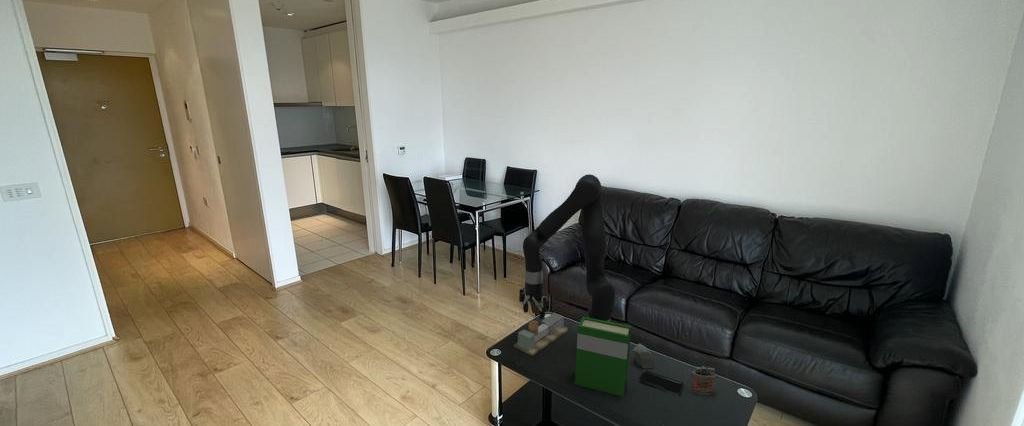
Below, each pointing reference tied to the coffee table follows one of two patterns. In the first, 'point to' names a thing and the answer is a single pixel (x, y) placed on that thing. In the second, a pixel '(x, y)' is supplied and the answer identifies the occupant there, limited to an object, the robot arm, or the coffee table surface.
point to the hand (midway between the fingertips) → (533, 315)
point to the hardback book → (602, 355)
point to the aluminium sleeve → (554, 323)
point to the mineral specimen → (643, 356)
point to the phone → (661, 383)
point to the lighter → (703, 381)
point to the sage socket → (526, 340)
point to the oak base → (543, 342)
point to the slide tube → (538, 329)
